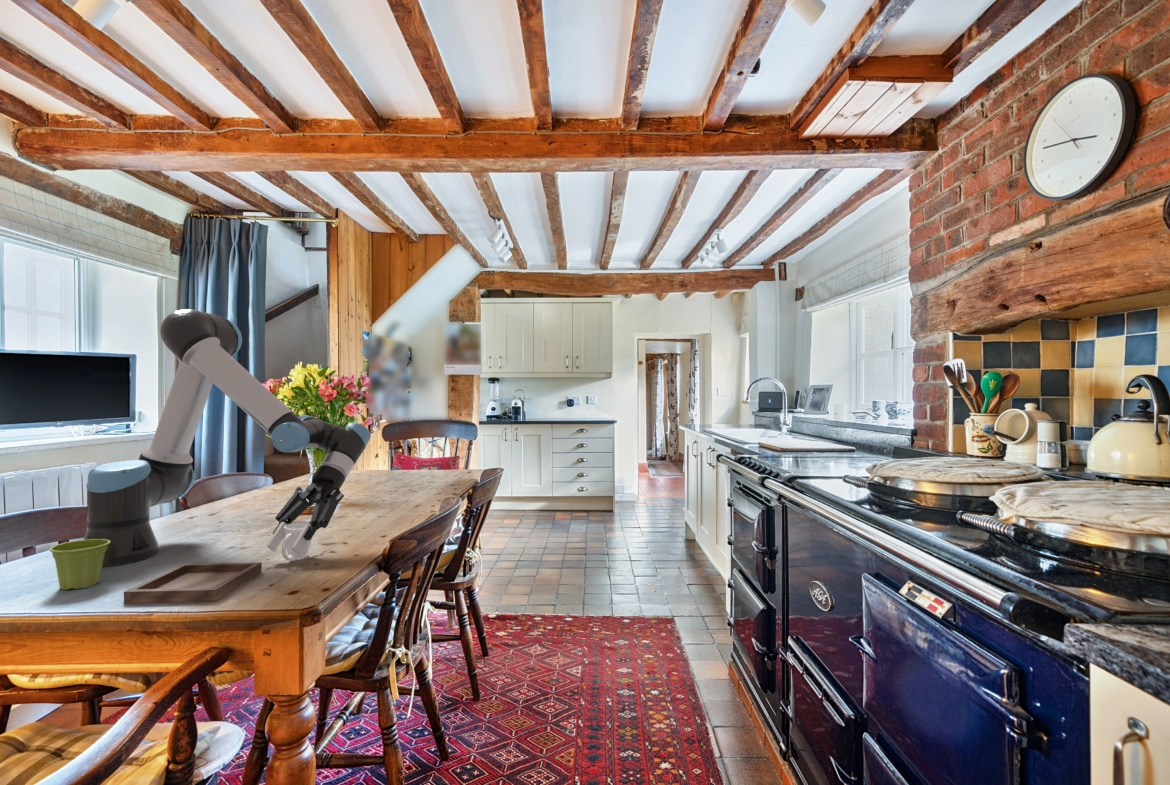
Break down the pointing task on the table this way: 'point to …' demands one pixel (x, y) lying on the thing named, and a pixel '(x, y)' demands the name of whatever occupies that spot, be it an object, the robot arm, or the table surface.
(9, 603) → the table surface
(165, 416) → the robot arm
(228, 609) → the table surface
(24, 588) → the table surface
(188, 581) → the tray
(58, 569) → the plant pot
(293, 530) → the cup
